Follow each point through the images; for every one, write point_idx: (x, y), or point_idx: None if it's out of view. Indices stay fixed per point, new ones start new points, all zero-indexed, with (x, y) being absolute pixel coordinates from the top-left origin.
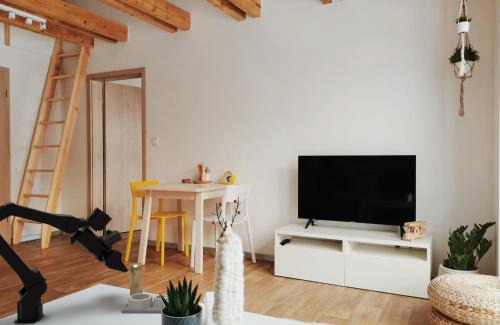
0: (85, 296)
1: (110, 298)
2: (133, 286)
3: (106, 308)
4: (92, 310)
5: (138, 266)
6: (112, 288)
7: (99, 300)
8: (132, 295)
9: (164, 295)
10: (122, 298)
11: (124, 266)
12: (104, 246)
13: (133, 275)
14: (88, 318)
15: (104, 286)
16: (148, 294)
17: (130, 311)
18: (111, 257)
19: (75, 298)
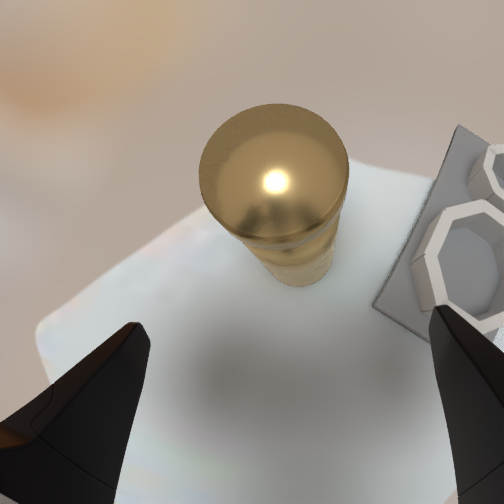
0: (130, 445)
1: (216, 370)
2: (326, 260)
3: (361, 424)
4: (347, 479)
5: (345, 158)
6: (85, 310)
7: (217, 422)
8: (446, 301)
9: (498, 152)
10: (251, 316)
11: (498, 358)
12: None
13: (327, 238)
14: (431, 496)
15: (52, 329)
16: (463, 212)
17: (494, 332)
18: None
19: (138, 482)
